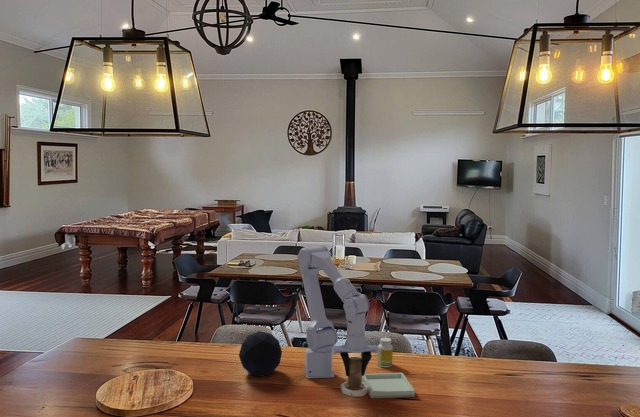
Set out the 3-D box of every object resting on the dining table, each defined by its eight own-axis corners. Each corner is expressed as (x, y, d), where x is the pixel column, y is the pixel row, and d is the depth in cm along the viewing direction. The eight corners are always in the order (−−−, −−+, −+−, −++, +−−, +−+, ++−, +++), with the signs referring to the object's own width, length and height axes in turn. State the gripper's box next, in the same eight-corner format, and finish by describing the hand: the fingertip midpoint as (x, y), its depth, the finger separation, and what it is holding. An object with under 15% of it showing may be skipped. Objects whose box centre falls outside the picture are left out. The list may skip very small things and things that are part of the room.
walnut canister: (349, 386, 157) (349, 362, 156) (346, 381, 161) (347, 357, 160) (362, 386, 157) (363, 361, 157) (360, 380, 162) (360, 356, 161)
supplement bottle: (374, 364, 181) (375, 338, 181) (384, 361, 185) (385, 335, 184) (385, 369, 177) (385, 342, 176) (395, 365, 180) (396, 339, 180)
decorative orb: (235, 349, 179) (238, 324, 169) (276, 346, 183) (281, 321, 173) (239, 386, 169) (242, 361, 159) (282, 381, 173) (288, 357, 163)
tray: (370, 398, 154) (371, 392, 154) (361, 379, 168) (361, 373, 167) (414, 396, 155) (414, 390, 155) (402, 378, 169) (402, 372, 169)
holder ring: (343, 396, 155) (343, 392, 154) (339, 385, 163) (339, 380, 163) (370, 395, 156) (370, 391, 155) (364, 384, 164) (364, 380, 164)
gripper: (335, 337, 153) (334, 380, 154) (381, 336, 155) (380, 379, 156) (331, 330, 160) (331, 371, 161) (376, 329, 162) (374, 370, 163)
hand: (354, 374), depth 159 cm, fingers closed on walnut canister, 4 cm apart
